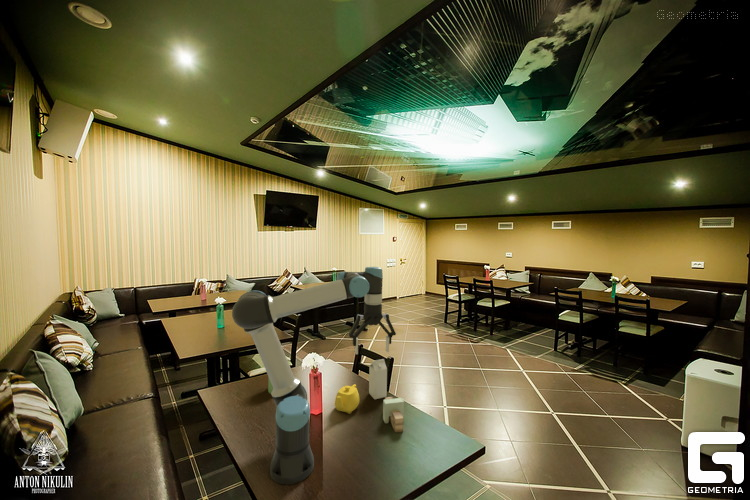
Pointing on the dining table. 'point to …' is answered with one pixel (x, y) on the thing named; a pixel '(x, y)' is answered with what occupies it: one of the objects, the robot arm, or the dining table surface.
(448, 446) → the dining table surface
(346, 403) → the teapot
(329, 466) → the dining table surface
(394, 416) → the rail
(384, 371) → the milk carton
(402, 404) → the block
